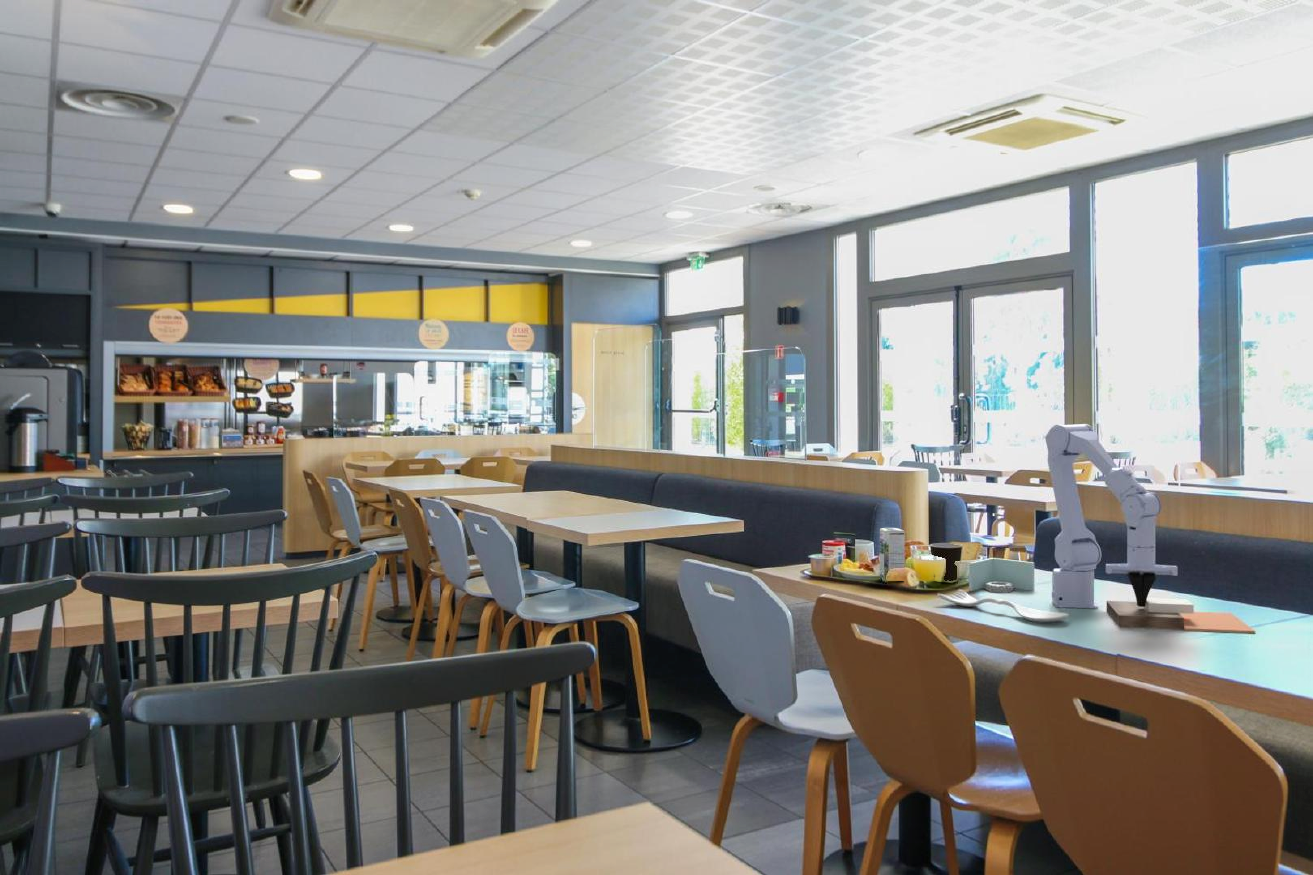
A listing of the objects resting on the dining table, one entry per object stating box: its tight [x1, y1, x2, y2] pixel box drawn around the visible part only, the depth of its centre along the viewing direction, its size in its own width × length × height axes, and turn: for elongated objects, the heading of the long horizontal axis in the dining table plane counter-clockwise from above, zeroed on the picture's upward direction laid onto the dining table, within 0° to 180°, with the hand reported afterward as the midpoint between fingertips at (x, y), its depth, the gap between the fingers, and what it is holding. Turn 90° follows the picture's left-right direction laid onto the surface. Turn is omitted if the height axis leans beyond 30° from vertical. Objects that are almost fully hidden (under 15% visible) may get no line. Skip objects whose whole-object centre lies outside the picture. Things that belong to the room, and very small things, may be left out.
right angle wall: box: [968, 557, 1035, 594], centre depth 261 cm, size 12×12×8 cm
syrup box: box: [878, 527, 906, 583], centre depth 277 cm, size 6×6×14 cm
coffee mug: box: [929, 542, 963, 581], centre depth 276 cm, size 12×9×10 cm
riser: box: [1106, 600, 1184, 630], centre depth 225 cm, size 13×16×2 cm
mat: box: [1179, 611, 1256, 634], centre depth 221 cm, size 14×18×1 cm
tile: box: [1145, 597, 1195, 614], centre depth 223 cm, size 9×6×2 cm, turn 74°
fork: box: [937, 589, 1070, 623], centre depth 234 cm, size 9×32×4 cm, turn 35°
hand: (1141, 605), depth 225 cm, fingers closed
